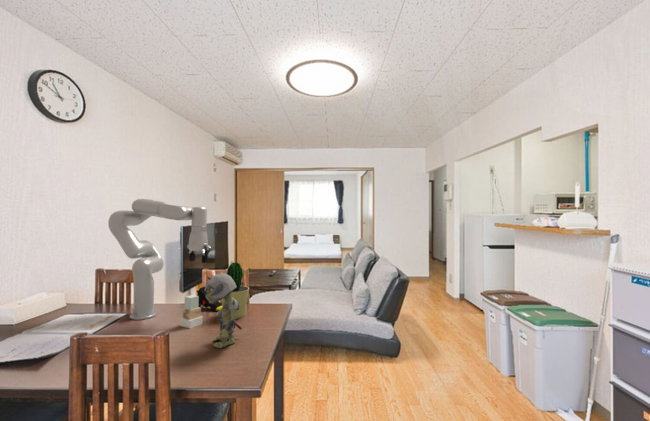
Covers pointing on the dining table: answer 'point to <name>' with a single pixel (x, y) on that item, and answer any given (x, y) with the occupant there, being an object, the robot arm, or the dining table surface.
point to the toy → (217, 290)
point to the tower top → (192, 313)
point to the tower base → (191, 322)
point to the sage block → (191, 302)
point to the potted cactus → (238, 289)
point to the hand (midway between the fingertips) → (198, 261)
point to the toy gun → (205, 302)
